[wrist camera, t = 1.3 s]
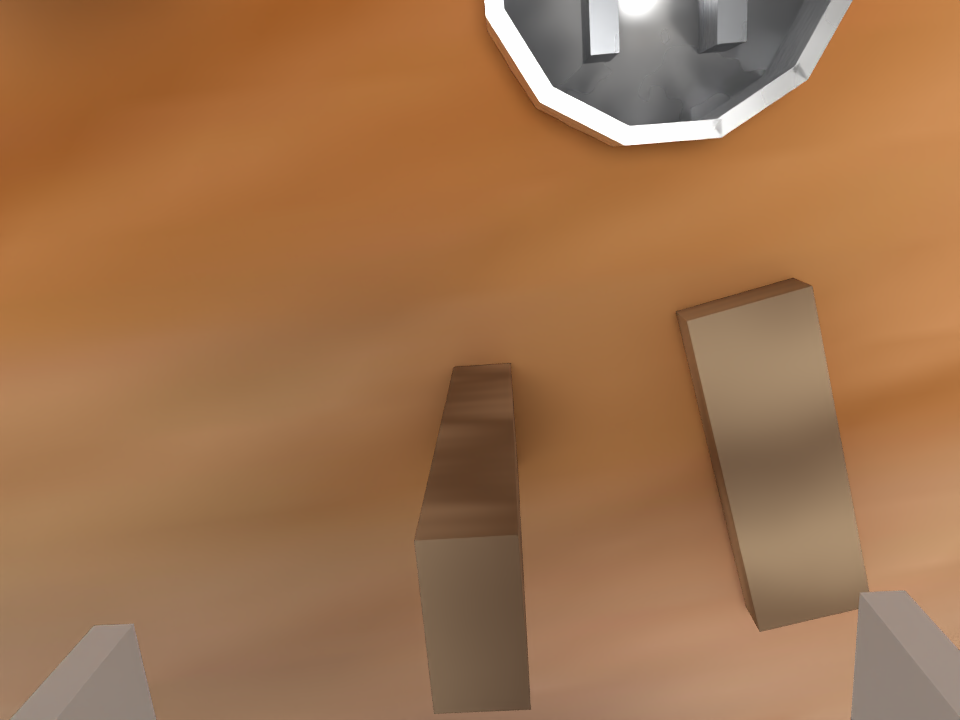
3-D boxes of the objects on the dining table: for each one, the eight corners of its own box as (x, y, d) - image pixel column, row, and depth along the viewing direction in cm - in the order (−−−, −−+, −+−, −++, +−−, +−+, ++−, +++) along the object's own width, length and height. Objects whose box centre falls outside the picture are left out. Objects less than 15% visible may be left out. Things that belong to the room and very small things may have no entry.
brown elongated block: (463, 471, 27) (434, 713, 15) (453, 367, 25) (414, 540, 14) (517, 468, 26) (530, 709, 15) (510, 363, 25) (518, 534, 14)
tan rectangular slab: (845, 574, 28) (871, 605, 26) (742, 599, 28) (759, 631, 26) (788, 275, 25) (812, 285, 23) (672, 308, 25) (686, 321, 23)
